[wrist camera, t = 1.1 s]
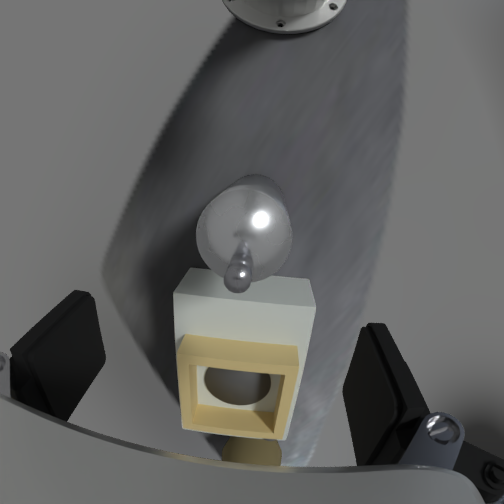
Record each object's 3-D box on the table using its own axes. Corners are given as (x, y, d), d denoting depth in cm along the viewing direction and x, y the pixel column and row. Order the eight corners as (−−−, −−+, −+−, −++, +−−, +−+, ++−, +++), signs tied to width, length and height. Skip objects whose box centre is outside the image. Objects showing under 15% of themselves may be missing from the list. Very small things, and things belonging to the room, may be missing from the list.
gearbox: (190, 267, 32) (162, 309, 23) (308, 279, 31) (320, 325, 23) (192, 395, 37) (176, 447, 29) (285, 405, 37) (286, 460, 28)
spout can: (227, 172, 28) (186, 191, 15) (287, 177, 28) (301, 201, 15) (223, 229, 30) (184, 295, 17) (281, 234, 30) (288, 305, 16)
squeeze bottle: (234, 452, 41) (220, 551, 24) (217, 420, 39) (194, 532, 22) (286, 446, 40) (286, 551, 23) (275, 414, 37) (272, 533, 20)
